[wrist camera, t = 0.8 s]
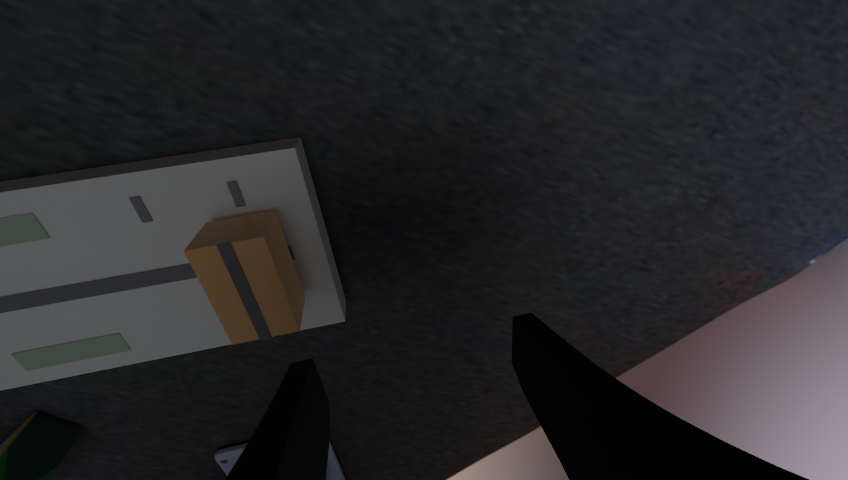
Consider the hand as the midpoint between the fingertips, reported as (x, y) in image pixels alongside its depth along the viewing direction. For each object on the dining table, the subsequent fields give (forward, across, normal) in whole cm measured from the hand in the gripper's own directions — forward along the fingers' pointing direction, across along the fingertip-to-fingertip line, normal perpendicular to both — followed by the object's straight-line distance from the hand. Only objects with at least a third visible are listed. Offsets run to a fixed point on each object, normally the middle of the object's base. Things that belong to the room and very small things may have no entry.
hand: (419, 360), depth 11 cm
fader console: (+10, +14, 0) cm, 18 cm away
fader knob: (+8, +7, 0) cm, 10 cm away
